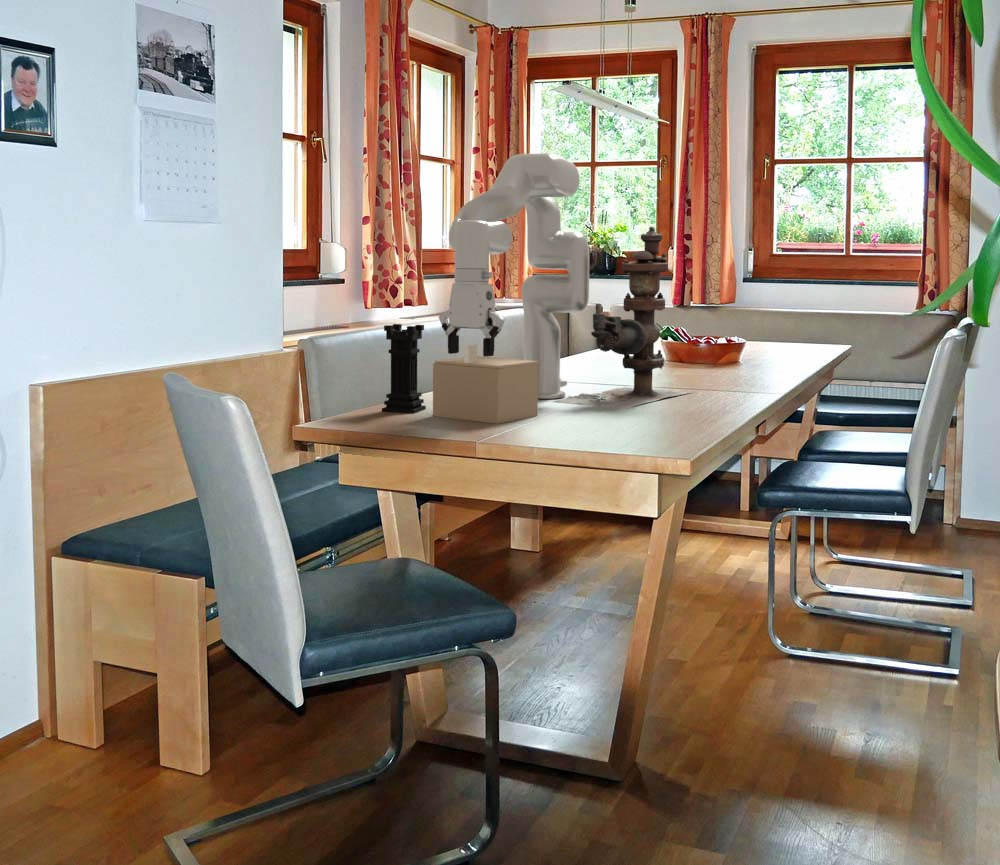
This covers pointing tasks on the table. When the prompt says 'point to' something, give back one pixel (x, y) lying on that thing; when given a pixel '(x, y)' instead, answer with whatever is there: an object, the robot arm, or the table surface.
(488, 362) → the lid flap
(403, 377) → the chess piece
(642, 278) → the valve
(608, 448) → the table surface
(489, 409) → the carton
